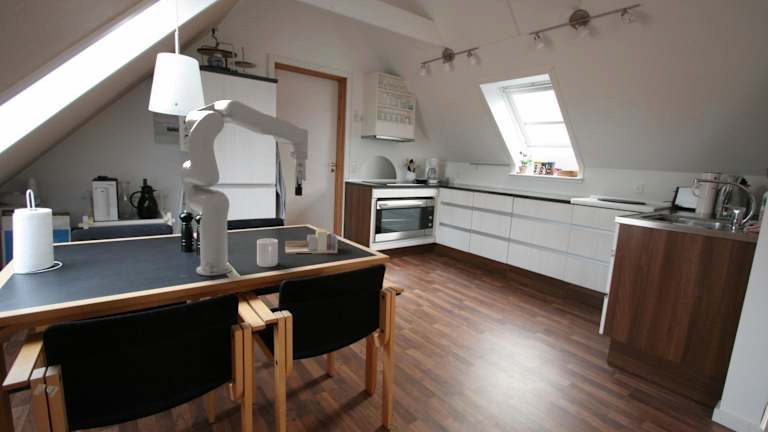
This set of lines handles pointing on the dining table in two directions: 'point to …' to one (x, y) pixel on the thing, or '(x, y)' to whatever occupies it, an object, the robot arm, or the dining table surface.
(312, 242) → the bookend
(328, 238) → the rack
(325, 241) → the book
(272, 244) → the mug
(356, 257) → the dining table surface
